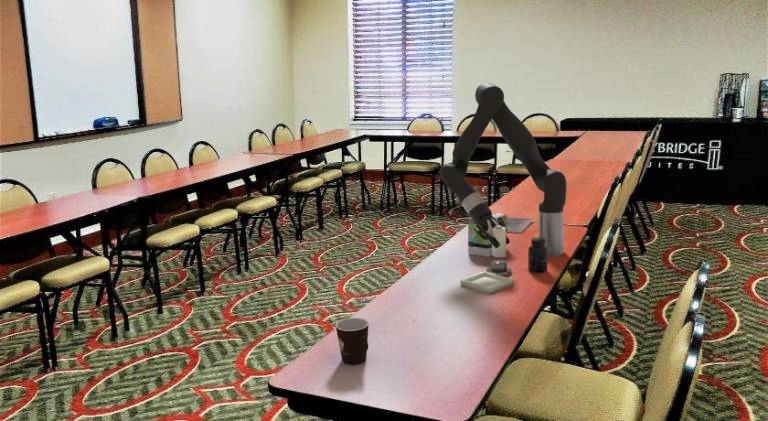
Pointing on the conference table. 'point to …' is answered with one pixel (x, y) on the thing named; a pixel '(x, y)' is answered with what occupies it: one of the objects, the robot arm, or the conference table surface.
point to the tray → (486, 282)
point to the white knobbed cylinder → (500, 235)
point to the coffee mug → (353, 340)
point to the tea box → (475, 240)
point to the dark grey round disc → (499, 268)
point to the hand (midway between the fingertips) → (503, 244)
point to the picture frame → (517, 224)
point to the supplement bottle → (537, 256)
